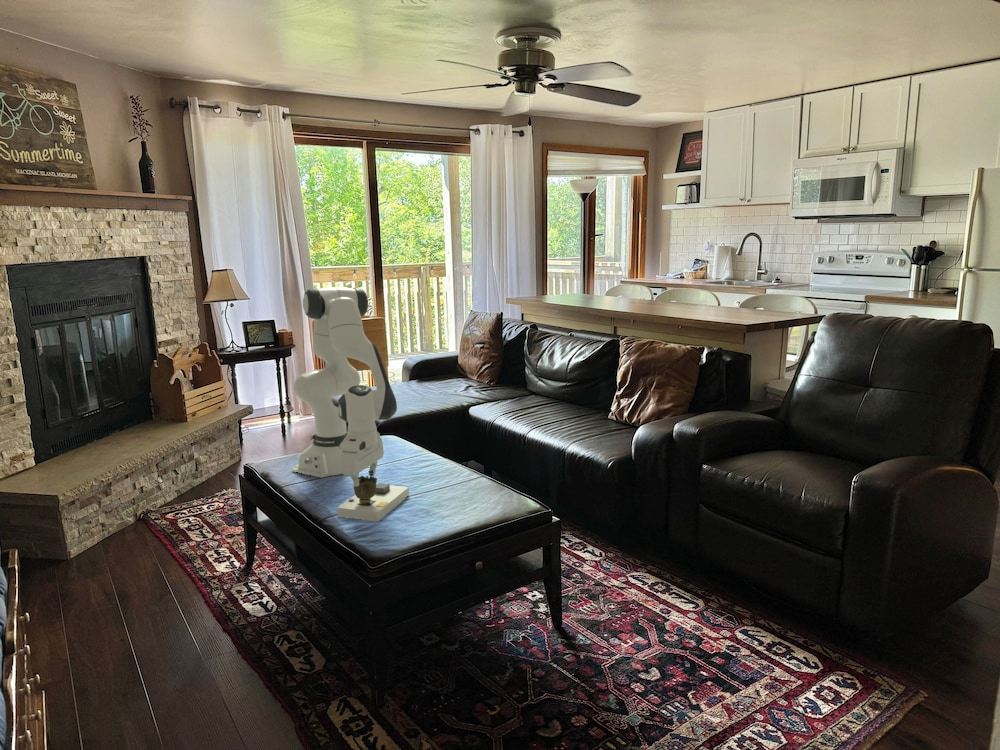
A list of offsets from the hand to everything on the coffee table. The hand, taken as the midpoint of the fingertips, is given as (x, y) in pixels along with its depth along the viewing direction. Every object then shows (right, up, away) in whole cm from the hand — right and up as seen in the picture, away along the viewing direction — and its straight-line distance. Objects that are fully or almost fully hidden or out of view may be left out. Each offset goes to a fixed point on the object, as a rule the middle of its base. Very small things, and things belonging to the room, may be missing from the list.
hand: (364, 480), depth 207 cm
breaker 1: (0, -10, +2) cm, 11 cm away
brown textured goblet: (0, -7, 0) cm, 7 cm away
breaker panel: (+2, -9, +7) cm, 12 cm away
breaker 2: (+3, -7, +11) cm, 13 cm away
